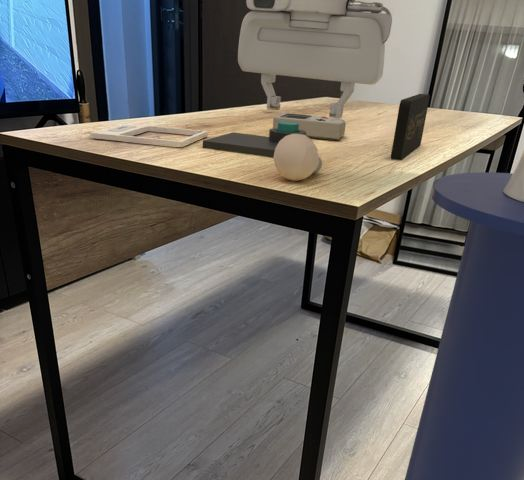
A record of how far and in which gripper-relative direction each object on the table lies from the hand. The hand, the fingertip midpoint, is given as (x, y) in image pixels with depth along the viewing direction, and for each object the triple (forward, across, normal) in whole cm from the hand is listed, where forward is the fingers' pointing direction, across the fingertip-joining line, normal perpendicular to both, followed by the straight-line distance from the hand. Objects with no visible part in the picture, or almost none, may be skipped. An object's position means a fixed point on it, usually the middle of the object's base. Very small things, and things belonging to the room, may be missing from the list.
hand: (303, 113), depth 77 cm
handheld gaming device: (+9, +12, -42) cm, 44 cm away
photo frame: (+10, +36, -15) cm, 40 cm away
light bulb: (+9, 0, 0) cm, 9 cm away
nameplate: (+9, -11, -35) cm, 38 cm away
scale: (+9, +16, -19) cm, 26 cm away
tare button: (+6, +11, -24) cm, 27 cm away
